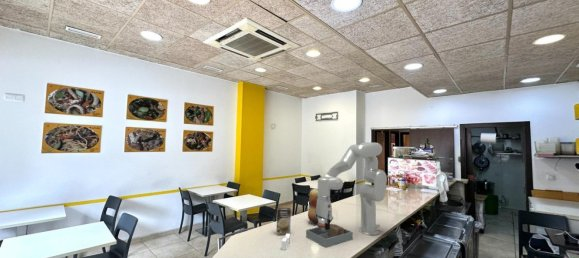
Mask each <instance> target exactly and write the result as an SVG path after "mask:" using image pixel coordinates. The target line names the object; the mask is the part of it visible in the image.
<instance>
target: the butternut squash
mask: <svg viewBox="0 0 579 258" xmlns="http://www.w3.org/2000/svg"><path fill="white" fill-rule="evenodd" d="M317 199H318V188H314V189H311V190H310V191H309V198H308V200H309V201H308V202H309V208H308V212H307V217H308V220H309V222H312V223H313V224H315V225H317V217H316V214H315V211H316V205H317Z"/></svg>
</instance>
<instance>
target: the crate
mask: <svg viewBox="0 0 579 258" xmlns="http://www.w3.org/2000/svg"><path fill="white" fill-rule="evenodd" d="M333 224H334V223H330V225H333ZM353 233H354V232H353V231H351V230H348V229H347V228H346V229H345V228H344V234H342V235H338V236H335V237H330V236H328V231H326V232H322V231H319V230H318V226H315V227H313V228H309V229H306V231H305V237H306V238H307V239H308V240H311V241H313V242H314V243H317V245H320V246H322V247H323V248H324V249H325V248H328V247H329V248H330V247H332V246H336V245H339V244H342V243H343V244H344V243H346V242H348V241H353V240H354V239H353Z"/></svg>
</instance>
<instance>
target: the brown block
mask: <svg viewBox="0 0 579 258" xmlns="http://www.w3.org/2000/svg"><path fill="white" fill-rule="evenodd" d="M332 224H333V225H330V229H329V231H328V236H330V237H335V236H338V235H342V234H344V229H345V228H344V227H343V226H340V225H337V224H335V223H332Z"/></svg>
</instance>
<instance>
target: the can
mask: <svg viewBox="0 0 579 258" xmlns="http://www.w3.org/2000/svg"><path fill="white" fill-rule="evenodd" d="M327 221H328V219H327ZM325 223H326V221H325V218H323V217H318V226H317V227H318V230H319V231H322V232H326V231H329V230H325Z"/></svg>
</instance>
